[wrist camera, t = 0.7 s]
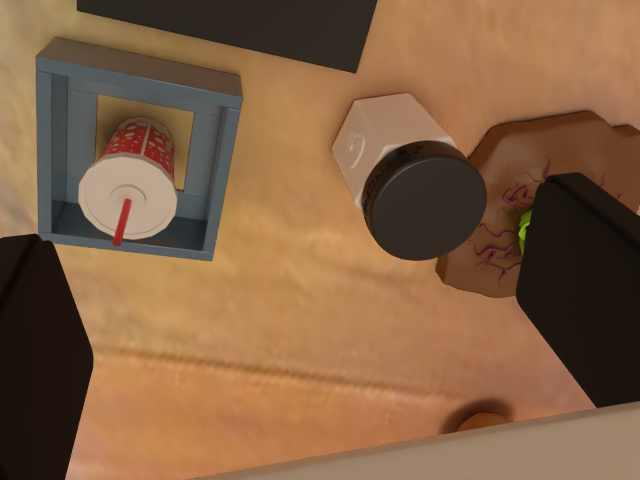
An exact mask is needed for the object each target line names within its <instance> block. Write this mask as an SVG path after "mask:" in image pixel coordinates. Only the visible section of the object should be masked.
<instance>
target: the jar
mask: <svg viewBox="0 0 640 480" xmlns="http://www.w3.org/2000/svg"><path fill="white" fill-rule="evenodd" d="M331 151H332V153H333V155H334V158H335V160H336V162H337V165H338V167H339V169H340V171H341V174H342V176H343V178H344V180H345V183H346V185H347V187H348V190H349V192H350V194H351V196H352V199H353V201H354V203H355V205H356V206H357V207H358V208H359V210H360V211H361V212H362V213H363V215H364V219H365V221H366V224H367V227H368V229H369V231H370V233H371V235H372V236H373V238H374V239H375V241H376V242H377V243H378V245H379V246H380V247H381V248H382V249H383V250H385V251H386V252H387V253H389V254H391V255H393V256H395V257H397V258H400V259H404V260H412V261H421V260H429V259H433V258H437V257H440V256H442V255H445V254H447V253H449V252H451V251H453V250H454V249H456V248H457V247H459V246H460V245H461V244H463V243H464V242H465V241H466V240H467V239H468V238H469V237H470V236H471V235H472V234H473V233H474V231H475V230H476V229H477V227H478V225H479V224H480V222H481V220H482V218H483V215H484V212H485V209H486V204H487V189H486V185H485V182H484V180H483V177H482V176H481V174H480V173H479V171H478V170H477V169H476V168H475V167H474V166H473V164H472V163H471V162H470V161H469V160H468V159H467V158H466V157H465V156H464V155H463V154H462V153H461V152H460V151H459V149H458V148H457V146H456V144H455V143H454V141H453V139H452V137H451V136H450V135H449V134H448V133H447V132H446V131H445V130H444V129H443V128H442V127H441V126H440V125H439V123H438V122H437V121H436V120H435V119H434V118H433V117H432V116H431V115H430V114H429V113H428V112H427V111H426V110H425V109H424V107H423V106H422V105H421V104H420V103H419V102H418V101H417V100H416V99H415V98H414V97H413V96H412V95H411V94H410V93H403V94H395V95H388V96H381V97H374V98H367V99H360V100H355V101H354V103H353V105H352V107H351V109H350V111H349V113H348V115H347V117H346V119H345V121H344V123H343V125H342V127H341V129H340V131H339V133H338V135H337V137H336V139H335V141H334V143H333V145H332V147H331Z"/></svg>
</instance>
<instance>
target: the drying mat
mask: <svg viewBox="0 0 640 480" xmlns="http://www.w3.org/2000/svg"><path fill="white" fill-rule="evenodd" d="M376 3H377V0H77V11H80V12H85V13H89V14H94V15H98V16H103V17H107V18H112V19H116V20H120V21H125V22H129V23H134V24H138V25H143V26H147V27H152V28H156V29H160V30H165V31H169V32H174V33H178V34H183V35H187V36H192V37H196V38H201V39H205V40H209V41H214V42H218V43H223V44H227V45H232V46H236V47H241V48H245V49H249V50H254V51H258V52H263V53H267V54H272V55H276V56H281V57H285V58H289V59H294V60H298V61H303V62H307V63H312V64H316V65H321V66H325V67H330V68H334V69H338V70H343V71H347V72H352V73H356V72H357V69H358V65H359V62H360V58H361V55H362V51H363V48H364V44H365V41H366V38H367V34H368V31H369V27H370V24H371V20H372V17H373V14H374V10H375V7H376Z"/></svg>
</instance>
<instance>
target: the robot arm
mask: <svg viewBox="0 0 640 480" xmlns="http://www.w3.org/2000/svg"><path fill="white" fill-rule="evenodd" d="M516 298H517V301H518V304H519V306H520V307H521V309H522V310H523V311H524V312H525V314H526V315H527V316H528V318H529V319H530V320H531V322H532V323H533V324H534V326H535V327H536V328H537V330H538V331H539V332H540V334H541V335H542V336H543V338H544V339H545V340H546V342H547V343H548V344H549V346H550V347H551V348H552V349H553V351H554V352H555V353H556V355H557V356H558V357H559V359H560V360H561V361H562V363H563V364H564V365H565V367H566V368H567V369H568V371H569V372H570V373H571V375H572V376H573V377H574V379H575V380H576V381H577V383H578V384H579V385H580V386H581V388H582V389H583V390H584V392H585V393H586V394H587V396H588V397H589V398H590V400H591V401H592V402H593V404H594V405H595V406H596V409H590V410H584V411H578V412H572V413H566V414H560V415H554V416H548V417H542V418H536V419H530V420H524V421H518V422H512V423H506V424H500V425H495V426H489V427H483V428H477V429H471V430H466V431H460V432H454V433H448V434H442V435H437V436H431V437H425V438H419V439H413V440H408V441H402V442H396V443H390V444H385V445H379V446H373V447H368V448H362V449H356V450H350V451H345V452H339V453H333V454H327V455H322V456H316V457H310V458H305V459H299V460H293V461H288V462H282V463H277V464H271V465H266V466H260V467H254V468H249V469H243V470H238V471H232V472H226V473H221V474H215V475H210V476H204V477H198V478H193V479H187V480H640V216H639V215H637V214H636V213H635V212H633V211H632V210H631V209H629V208H628V207H627V206H625V205H624V204H623V203H621V202H620V201H619V200H617V199H616V198H614V197H613V196H612V195H610V194H609V193H608V192H606V191H605V190H604V189H602V188H601V187H600V186H598V185H597V184H596V183H594V182H593V181H592V180H590V179H589V178H588V177H586V176H585V175H583V174H582V173H580V172H573V173H564V174H555V175H550V176H548V177H547V178H546V179H545V181H544V183H541V184H540V185H539V186H538V187H537V190H536V194H535V199H534V204H533V208H532V213H531V218H530V223H529V228H528V233H527V237H526V242H525V247H524V252H523V257H522V262H521V266H520V271H519V276H518V281H517V286H516ZM92 370H93V351H92V348H91V345H90V342H89V339H88V337H87V334H86V331H85V329H84V326H83V323H82V320H81V318H80V315H79V312H78V309H77V307H76V304H75V301H74V298H73V296H72V293H71V290H70V287H69V285H68V282H67V279H66V276H65V274H64V271H63V268H62V266H61V263H60V260H59V257H58V255H57V252H56V249H55V247H54V245H53V243H52V242H51V241H50V240H46V241H43V240H42V239H41V237H40V236H39V235H37V234H28V235H19V236H11V237H3V238H0V480H65V477H66V473H67V469H68V465H69V461H70V457H71V453H72V449H73V445H74V442H75V438H76V434H77V430H78V426H79V422H80V418H81V414H82V410H83V406H84V402H85V398H86V394H87V390H88V386H89V382H90V378H91V374H92Z"/></svg>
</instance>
